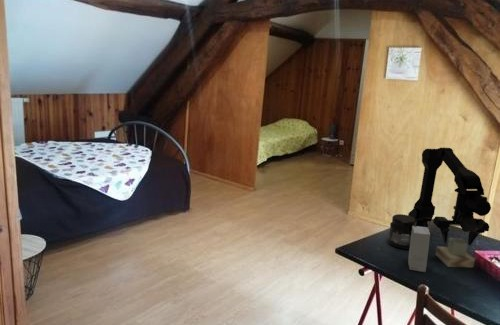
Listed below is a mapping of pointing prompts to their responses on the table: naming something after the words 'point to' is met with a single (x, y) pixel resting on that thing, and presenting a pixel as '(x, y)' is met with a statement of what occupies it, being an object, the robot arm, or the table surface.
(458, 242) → the sage cube
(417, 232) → the skincare box
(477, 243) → the table surface
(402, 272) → the table surface
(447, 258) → the birch block
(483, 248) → the table surface
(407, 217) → the supplement container
